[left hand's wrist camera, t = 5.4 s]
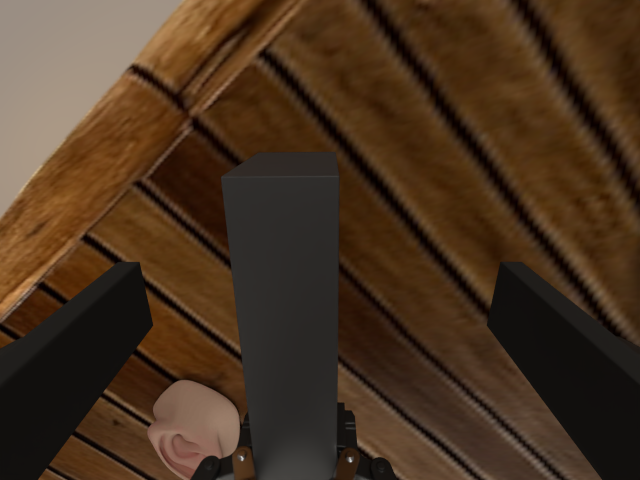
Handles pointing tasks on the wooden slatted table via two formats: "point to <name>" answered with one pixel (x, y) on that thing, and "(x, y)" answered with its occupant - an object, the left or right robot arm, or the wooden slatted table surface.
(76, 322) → the left robot arm
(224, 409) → the anatomical model
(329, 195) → the bar
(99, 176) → the wooden slatted table surface
